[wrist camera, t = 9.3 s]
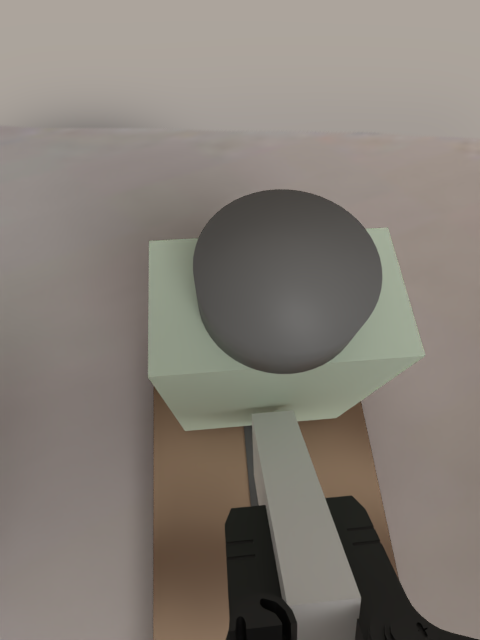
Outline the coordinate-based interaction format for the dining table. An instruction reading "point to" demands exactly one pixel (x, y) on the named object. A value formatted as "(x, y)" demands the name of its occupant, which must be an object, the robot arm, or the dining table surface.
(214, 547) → the fader track
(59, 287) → the dining table surface
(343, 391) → the fader tab
